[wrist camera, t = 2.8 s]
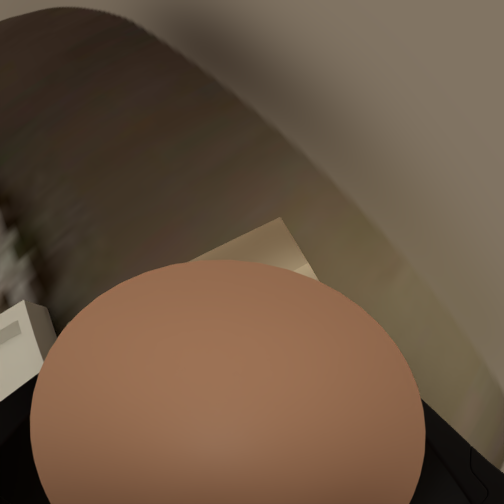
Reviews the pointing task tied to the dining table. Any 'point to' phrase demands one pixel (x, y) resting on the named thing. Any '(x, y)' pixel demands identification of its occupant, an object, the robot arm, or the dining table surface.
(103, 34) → the dining table surface
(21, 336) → the tray
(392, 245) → the dining table surface
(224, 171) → the dining table surface
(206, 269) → the dowel
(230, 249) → the holder
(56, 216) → the dining table surface
